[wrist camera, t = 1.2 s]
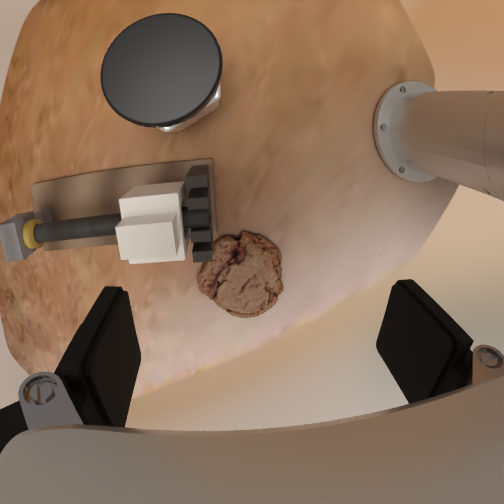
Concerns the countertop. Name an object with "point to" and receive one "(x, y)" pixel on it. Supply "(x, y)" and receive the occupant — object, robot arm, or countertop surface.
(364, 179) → the countertop surface
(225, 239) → the cookie
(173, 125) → the jar
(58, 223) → the comb rig
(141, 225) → the sleeve
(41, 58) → the countertop surface
